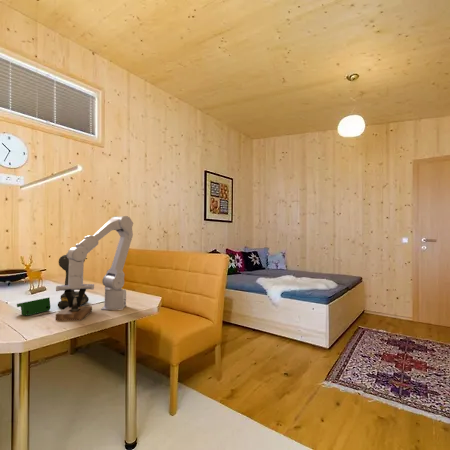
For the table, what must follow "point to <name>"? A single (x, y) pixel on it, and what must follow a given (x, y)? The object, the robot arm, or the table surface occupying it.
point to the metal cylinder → (74, 303)
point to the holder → (74, 313)
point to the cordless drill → (65, 266)
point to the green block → (34, 306)
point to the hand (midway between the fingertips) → (74, 306)
